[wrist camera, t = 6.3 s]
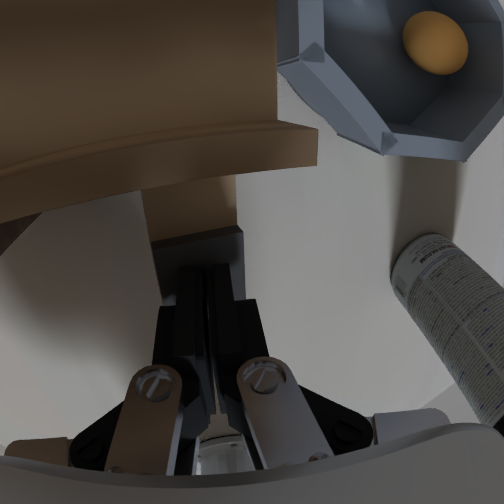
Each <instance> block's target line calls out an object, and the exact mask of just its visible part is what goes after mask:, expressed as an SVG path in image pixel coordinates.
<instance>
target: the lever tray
mask: <svg viewBox="0 0 504 504" xmlns="http://www.w3.org/2000/svg"><path fill="white" fill-rule="evenodd" d="M317 152H318V129H315V128H311V127H307V126H302V125H298V124H294V123H289V122H285V121H280V120H277V41H276V1H275V0H0V224H1V223H4V222H8V221H11V220H15V219H18V218H22V217H25V216H29V215H33V214H36V213H40V212H44V211H48V210H52V209H56V208H60V207H64V206H68V205H72V204H76V203H80V202H85V201H89V200H93V199H98V198H103V197H107V196H112V195H117V194H122V193H127V192H132V191H137V190H141V192H142V198H143V205H144V211H145V217H146V223H147V229H148V234H149V240H150V245H151V251H152V256H153V261H154V266H155V271H156V275H157V280H158V285H159V289H160V294H161V298H162V302H163V306H172V305H176V298H177V288H178V277H179V268H180V267H183V266H196V269H197V270H199V269H202V270H203V278H204V286H205V294H206V302H207V310H208V317H209V309H208V283H207V269H211V268H213V264H220V263H229V266H230V273H231V280H232V287H233V294H234V301H235V300H246V292H245V265H244V237H243V231H242V230H241V229H240V228H239V226H238V225H237V209H236V184H235V174H243V173H251V172H259V171H268V170H277V169H286V168H297V167H307V166H317Z"/></svg>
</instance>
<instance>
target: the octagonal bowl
mask: <svg viewBox="0 0 504 504" xmlns="http://www.w3.org/2000/svg"><path fill="white" fill-rule="evenodd" d="M275 1H276V41H277V71H278V72H279V73H280V74H281V75H282V76H283V77H284V78H285V79H286V80H287V81H288V83H289V84H290V86H291V87H292V89H293V90H294V91H295V92H296V93H297V95H298V96H299V97H300V98H301V99H302V100H303V101H304V102H305V103H306V104H307V105H308V106H309V107H310V108H311V109H312V110H314V111H315V112H316V113H318V114H319V115H321V116H322V117H323V118H324V119H325V120H326V121H327V122H328V124H329V125H330V126H331V127H332V128H333V129H334V130H335V131H336V133H337V135H338V136H340V137H342V138H345V139H347V140H349V141H352V142H354V143H356V144H358V145H361V146H363V147H365V148H367V149H369V150H371V151H374V152H376V153H378V154H380V155H382V156H384V155H400V156H414V157H426V158H437V159H447V160H456V161H461V162H463V163H464V162H466V161H467V159H468V158H469V157H470V155H471V154H472V153H473V152H474V151H475V150H476V148H477V147H478V146H479V145H480V144H481V143H482V141H483V140H484V139H485V138H486V137H487V135H488V134H489V133H490V132H491V131H492V129H493V128H494V127H495V126H496V124H497V123H498V122H499V121H500V119H501V118H502V117H503V116H504V10H503V8H502V6H501V5H500V3H499V1H498V0H275ZM423 11H434V12H439V13H441V14H444V15H446V16H448V17H449V18H451V19H452V20H454V21H455V22H456V23H457V24H458V25H459V27H460V28H461V29H462V31H463V32H464V34H465V36H466V39H467V43H468V56H467V59H466V62H465V63H464V65H463V66H462V67H461V68H460V69H459V70H458V71H456V72H454V73H451V74H447V75H437V74H433V73H430V72H427V71H425V70H423V69H422V68H420V67H419V66H418V65H416V64H415V63H414V62H413V61H412V59H411V58H410V57H409V55H408V54H407V52H406V50H405V47H404V44H403V29H404V26H405V24H406V22H407V21H408V20H409V19H410V18H411V17H412V16H413V15H415V14H417V13H419V12H423Z"/></svg>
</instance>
